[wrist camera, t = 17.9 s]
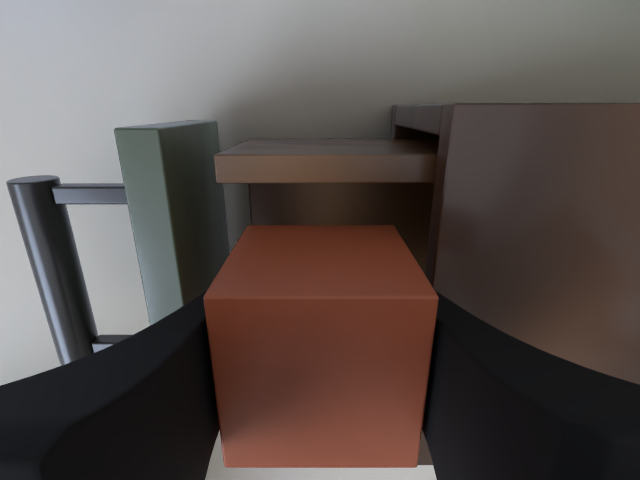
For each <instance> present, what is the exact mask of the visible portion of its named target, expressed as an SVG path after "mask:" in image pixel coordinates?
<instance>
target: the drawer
mask: <svg viewBox="0 0 640 480" xmlns="http://www.w3.org/2000/svg"><path fill="white" fill-rule="evenodd" d="M114 133H115V138H116V144H117V149H118V154H119V160H120V165H121V170H122V176H123V181H124V184H61V183H60V179H59V177H58V176H51V175H42V176H29V177H21V178H15V179H11V180H9V181H7V182H6V184H7V187H8V190H9V194H10V197H11V200H12V204H13V207H14V210H15V214H16V217H17V220H18V224H19V227H20V230H21V234H22V237H23V241H24V244H25V247H26V251H27V254H28V257H29V261H30V264H31V267H32V271H33V274H34V277H35V281H36V284H37V287H38V291H39V294H40V297H41V301H42V304H43V308H44V311H45V314H46V318H47V321H48V324H49V328H50V331H51V334H52V338H53V341H54V344H55V348H56V351H57V354H58V358H59V361H60V363H61V364H62V365H65V364H67V363H70V362H72V361H75V360H77V359H80V358H82V357H85V356H87V355H90V354H92V353H95V352H97V351H100V350H102V349H105V348H107V347H109V346H111V345H114V344H116V343H118V342H120V341H122V340H124V339H126V338H128V337H130V336H132V335H99V336H98V333H97V329H96V325H95V321H94V316H93V312H92V308H91V304H90V300H89V296H88V292H87V288H86V284H85V280H84V276H83V272H82V268H81V264H80V260H79V256H78V252H77V248H76V244H75V240H74V235H73V231H72V227H71V223H70V219H69V215H68V211H67V207H66V204H128V208H129V213H130V219H131V224H132V229H133V235H134V240H135V245H136V251H137V256H138V261H139V267H140V272H141V277H142V283H143V288H144V294H145V299H146V304H147V310H148V315H149V320H150V326H151V325H153V324H154V323H156V322H158V321H159V320H161V319H163V318H164V317H166V316H168V315H169V314H171V313H173V312H174V311H176V310H178V309H179V308H181V307H182V306H184V305H185V304H187V303H188V302H190V301H191V300H193V299H195V298H196V297H198V296H199V295H201V294H202V293H204V292H205V291H207V290H208V289H209V287H210V285H211V284H212V282H213V281H214V279H215V277H216V276H217V274H218V272H219V271H220V269H221V268H222V266H223V264H224V263H225V261H226V259H227V258H228V256H229V246H228V235H227V224H226V213H225V203H224V192H223V183H248V185H249V200H250V214H251V225H393V226H395V228H396V230H397V231H398V233H399V234H400V236H401V238H402V239H403V241H404V242H405V244H406V246H407V247H408V249H409V250H410V252H411V254H412V255H413V257H414V258H415V260H416V262H417V263H418V265H419V266H420V268H421V269H422V271H423V273H424V274H425V266H426V257H427V248H428V239H429V230H430V220H431V211H432V202H433V193H434V184H435V175H436V165H437V156H438V147H439V139H249V140H246V141H244V142H242V143H239V144H237V145H235V146H233V147H230V148H228V149H226V150H224V151H222V152H220V149H219V138H218V127H217V121H215V120H189V121H179V122H169V123H160V124H150V125H140V126H130V127H120V128H115V129H114Z"/></svg>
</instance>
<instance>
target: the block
mask: <svg viewBox="0 0 640 480" xmlns="http://www.w3.org/2000/svg"><path fill="white" fill-rule="evenodd" d="M203 299H204V307H205V315H206V323H207V331H208V339H209V347H210V355H211V363H212V371H213V379H214V387H215V395H216V403H217V411H218V420H219V428H220V436H221V444H222V452H223V460H224V466H225V467H227V468H415V467H417V465H418V458H419V450H420V442H421V434H422V426H423V418H424V410H425V402H426V394H427V387H428V379H429V371H430V363H431V355H432V347H433V339H434V331H435V323H436V315H437V308H438V300H439V298H438V295H437V293H436V292H435V290H434V289H433V287H432V285H431V284H430V282H429V281H428V279H427V277H426V276H425V274H424V273H423V271H422V269H421V268H420V266H419V265H418V263H417V262H416V260H415V258H414V257H413V255H412V254H411V252H410V250H409V249H408V247H407V246H406V244H405V242H404V241H403V239H402V238H401V236H400V234H399V233H398V231H397V230H396V228H395V226H393V225H248V226H247V227H246V229H245V230H244V232H243V233H242V235H241V237H240V238H239V240H238V242H237V243H236V245H235V246H234V248H233V250H232V251H231V253H230V255H229V256H228V258H227V259H226V261H225V263H224V264H223V266H222V268H221V269H220V271H219V272H218V274H217V276H216V277H215V279H214V281H213V282H212V284H211V285H210V287H209V289H208V290H207V292H206V294H205V295H204V298H203Z"/></svg>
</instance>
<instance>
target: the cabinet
mask: <svg viewBox="0 0 640 480" xmlns="http://www.w3.org/2000/svg"><path fill="white" fill-rule="evenodd" d="M390 139H439V147H438V156H437V165H436V175H435V184H434V193H433V202H432V211H431V220H430V230H429V239H428V248H427V257H426V266H425V276H426V277H427V279H428V281H429V282H430V284H431V285H432V287H433V289H434V290H435V291H437V292H438V293H440V294H441V295H443V296H444V297H446V298H447V299H449V300H450V301H452V302H453V303H455V304H457V305H458V306H460V307H461V308H463V309H464V310H466V311H468V312H469V313H471V314H473V315H474V316H476V317H478V318H479V319H481V320H483V321H484V322H486V323H488V324H490V325H492V326H493V327H495V328H497V329H499V330H501V331H502V332H504V333H506V334H508V335H510V336H512V337H514V338H517V339H519V340H521V341H523V342H525V343H527V344H529V345H531V346H534V347H536V348H538V349H540V350H543V351H545V352H547V353H550V354H552V355H555V356H557V357H560V358H562V359H565V360H568V361H570V362H573V363H576V364H578V365H581V366H583V367H586V368H589V369H592V370H595V371H598V372H601V373H604V374H607V375H610V376H613V377H616V378H619V379H623V380H626V381H629V382H632V383H636V384H639V385H640V103H443V104H410V105H393V106H392V121H391V136H390ZM418 465H433V462H432V458H431V455H430V451H429V448H428V445H427V442H426V439H425V436H424V433H423V430H422V434H421V442H420V450H419V458H418Z"/></svg>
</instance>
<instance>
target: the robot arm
mask: <svg viewBox="0 0 640 480" xmlns="http://www.w3.org/2000/svg"><path fill="white" fill-rule="evenodd" d="M206 292H207V291H205V292H204V293H202V294H201V295H199V296H198V297H196V298H195V299H193V300H191V301H190V302H188V303H187V304H185V305H184V306H182V307H181V308H179V309H178V310H176V311H174V312H173V313H171V314H169V315H168V316H166V317H164V318H163V319H161V320H159V321H158V322H156V323H154V324H153V325H151V326H149V327H147V328H146V329H144V330H142V331H140V332H138V333H136V334H134V335H132V336H130V337H128V338H126V339H124V340H122V341H120V342H118V343H116V344H114V345H111V346H109V347H107V348H105V349H102V350H100V351H97V352H95V353H92V354H90V355H87V356H85V357H82V358H80V359H77V360H75V361H72V362H70V363H67V364H65V365H62V366H60V367H57V368H54V369H51V370H48V371H45V372H42V373H39V374H37V375H34V376H31V377H27V378H24V379H21V380H18V381H15V382H11V383H8V384H5V385H1V386H0V480H205V477H206V473H207V469H208V465H209V461H210V457H211V454H212V451H213V447H214V444H215V441H216V438H217V435H218V432H219V430H220V428H219V420H218V411H217V403H216V395H215V387H214V379H213V371H212V363H211V355H210V347H209V339H208V331H207V323H206V315H205V307H204V299H203V298H204V295H205V294H206ZM435 292H436V293H437V295H438V298H439V300H438V308H437V315H436V323H435V331H434V339H433V347H432V355H431V363H430V371H429V379H428V387H427V394H426V402H425V410H424V418H423V426H422V430H423V433H424V436H425V439H426V442H427V445H428V448H429V451H430V455H431V458H432V462H433V466H434V470H435V474H436V478H437V480H640V385H639V384H636V383H632V382H629V381H626V380H623V379H619V378H616V377H613V376H610V375H607V374H604V373H601V372H598V371H595V370H592V369H589V368H586V367H583V366H581V365H578V364H576V363H573V362H570V361H568V360H565V359H562V358H560V357H557V356H555V355H552V354H550V353H547V352H545V351H543V350H540V349H538V348H536V347H534V346H531V345H529V344H527V343H525V342H523V341H521V340H519V339H517V338H514V337H512V336H510V335H508V334H506V333H504V332H502V331H501V330H499V329H497V328H495V327H493V326H492V325H490V324H488V323H486V322H484V321H483V320H481V319H479V318H478V317H476V316H474V315H473V314H471V313H469V312H468V311H466V310H464V309H463V308H461V307H460V306H458V305H457V304H455V303H453V302H452V301H450V300H449V299H447V298H446V297H444V296H443V295H441V294H440V293H438V292H437V291H435Z"/></svg>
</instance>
